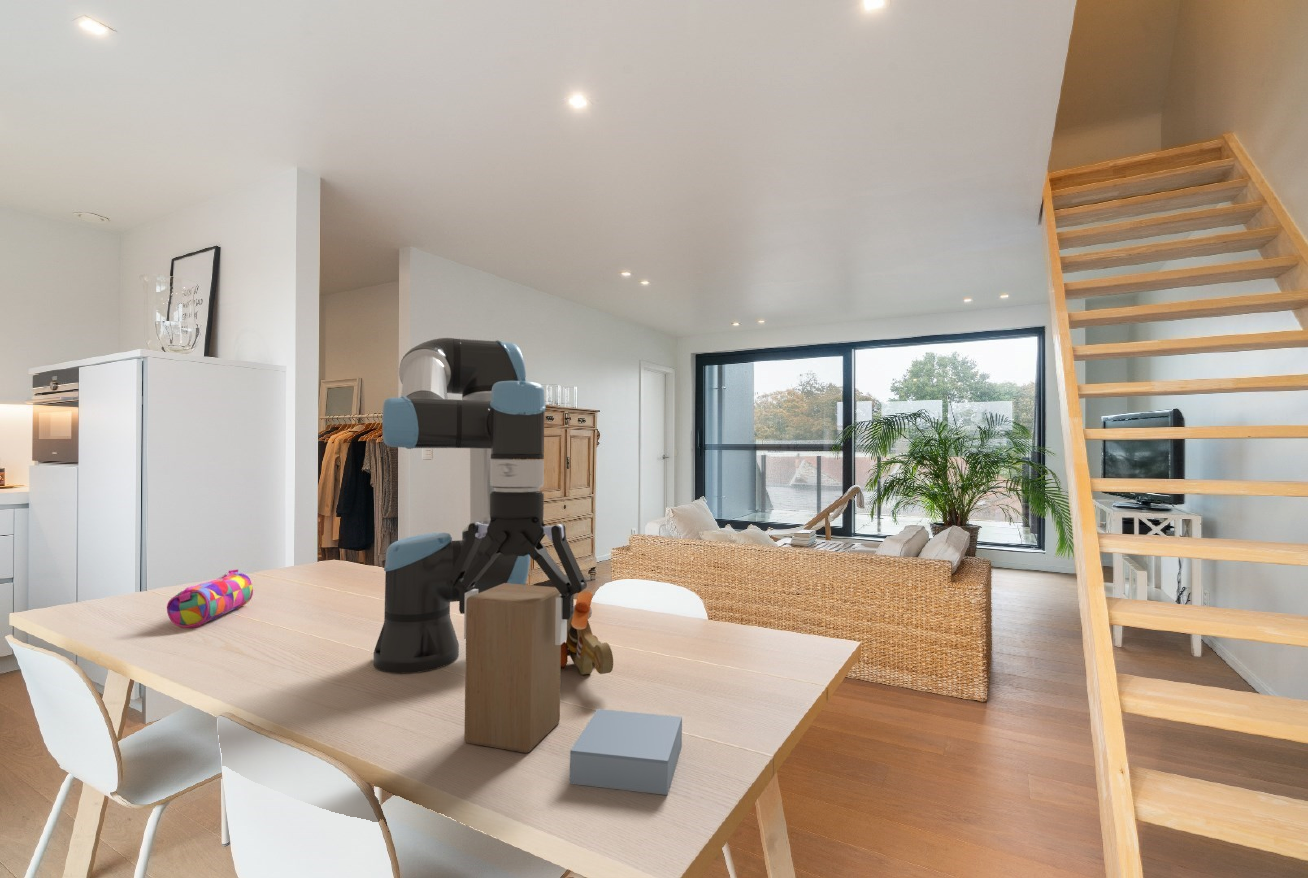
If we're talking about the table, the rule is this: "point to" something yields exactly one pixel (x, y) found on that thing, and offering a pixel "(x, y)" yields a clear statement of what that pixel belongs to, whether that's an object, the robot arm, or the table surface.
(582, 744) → the base brick
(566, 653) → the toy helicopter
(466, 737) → the wooden block
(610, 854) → the table surface
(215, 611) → the pencil case
